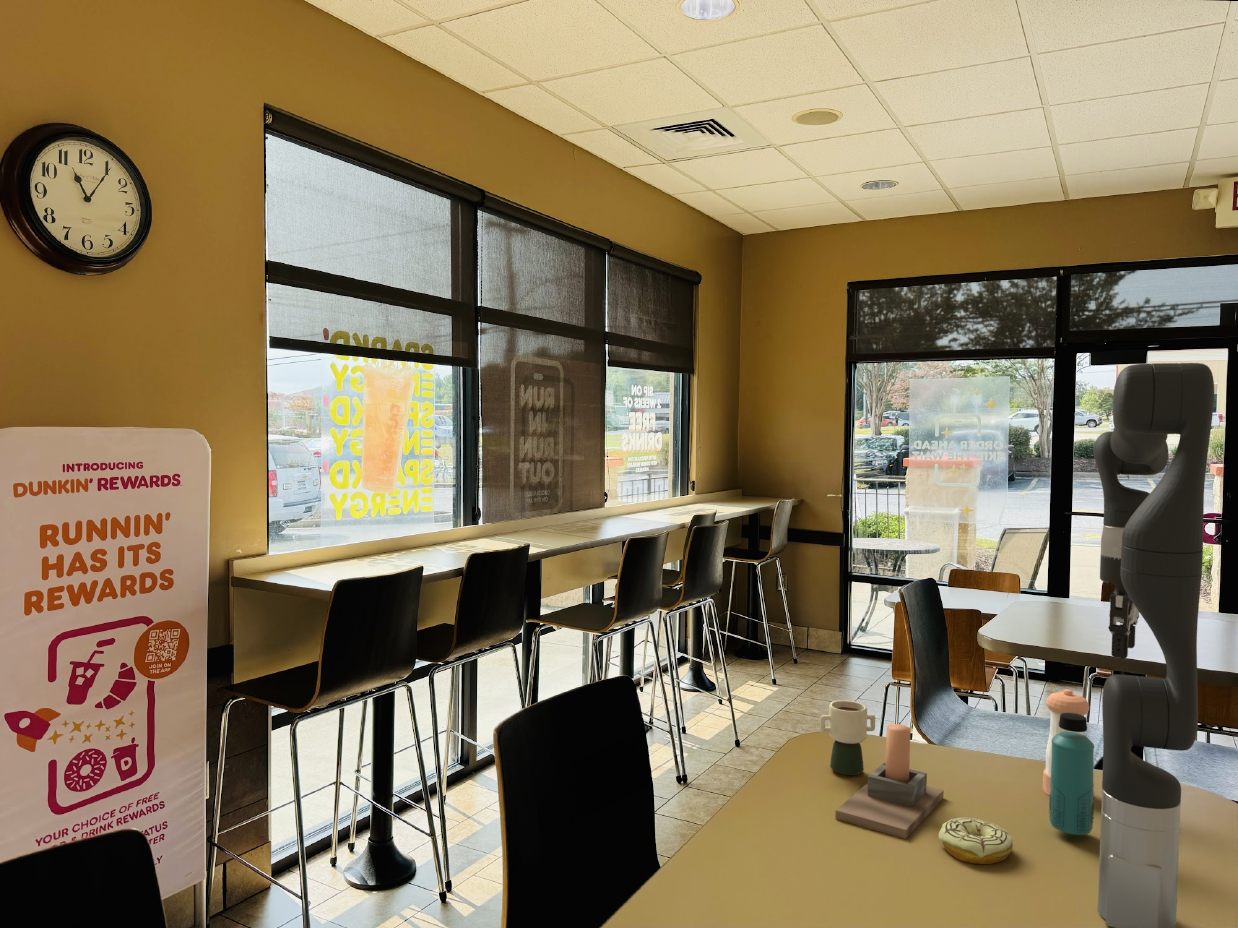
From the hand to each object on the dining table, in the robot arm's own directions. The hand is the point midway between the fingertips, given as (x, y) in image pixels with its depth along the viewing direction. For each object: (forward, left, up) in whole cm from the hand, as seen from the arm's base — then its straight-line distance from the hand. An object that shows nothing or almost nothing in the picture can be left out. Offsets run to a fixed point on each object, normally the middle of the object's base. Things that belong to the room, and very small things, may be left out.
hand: (1123, 652), depth 146 cm
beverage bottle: (-6, +6, -30) cm, 31 cm away
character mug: (-3, +46, -30) cm, 55 cm away
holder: (-14, +33, -30) cm, 47 cm away
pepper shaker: (+12, +10, -30) cm, 34 cm away
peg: (-11, +33, -29) cm, 45 cm away
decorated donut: (-21, +17, -31) cm, 41 cm away
